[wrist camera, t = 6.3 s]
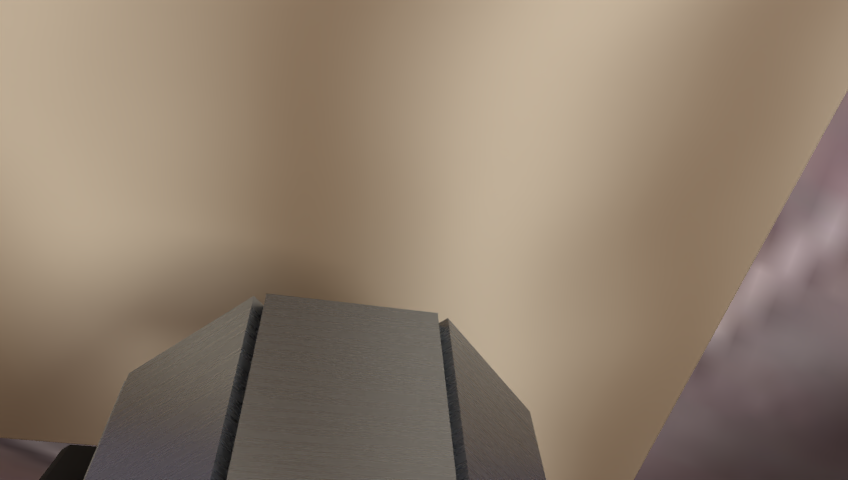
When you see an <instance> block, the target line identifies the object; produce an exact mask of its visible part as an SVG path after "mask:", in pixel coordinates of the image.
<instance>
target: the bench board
mask: <svg viewBox="0 0 848 480" xmlns="http://www.w3.org/2000/svg"><path fill="white" fill-rule="evenodd" d="M847 90H848V0H0V438H10V439H23V440H35V441H48V442H60V443H73V444H85V445H98V443H99V441H100V438H101V436H102V434H103V431H104V429H105V426H106V424H107V422H108V419H109V417H110V414H111V412H112V410H113V407H114V405H115V402H116V400H117V398H118V395H119V393H120V390H121V388H122V386H123V383H124V381H126V379H127V377H128V374H129V373H130V372H132V371H133V370H135V369H137V368H138V367H140V366H141V365H143V364H145V363H146V362H148V361H150V360H151V359H153V358H154V357H156V356H158V355H159V354H161V353H162V352H164V351H166V350H167V349H169V348H170V347H172V346H174V345H175V344H177V343H179V342H180V341H182V340H183V339H185V338H187V337H188V336H190V335H191V334H193V333H195V332H196V331H198V330H199V329H201V328H203V327H204V326H206V325H208V324H209V323H211V322H212V321H214V320H216V319H217V318H219V317H220V316H222V315H224V314H225V313H227V312H229V311H230V310H232V309H233V308H235V307H237V306H238V305H240V304H241V303H243V302H245V301H246V300H248V299H249V298H251V297H253V296H255V297H256V298H257V299H258V300H259V301H260V302H261V303H262V304H263V305H264V302H265V297H266V293H268V294H277V295H285V296H294V297H303V298H312V299H320V300H329V301H338V302H346V303H355V304H364V305H372V306H381V307H390V308H398V309H407V310H416V311H425V312H433V313H438V320H439V323H440V322H442V321H443V320H445V319H447V318H448V319H449V320H450V321H451V322H452V323H453V324H454V325H455V327H456V328H457V329H458V330H459V331H460V332H461V333H462V335H463V336H464V337H465V338H466V339H467V340H468V341H469V343H470V344H471V345H472V346H473V347H474V348H475V349H476V351H477V352H478V353H479V354H480V355H481V356H482V357H483V359H484V360H485V361H486V362H487V363H488V364H489V365H490V367H491V368H492V369H493V370H494V371H495V372H496V373H497V375H498V376H499V377H500V378H501V379H502V380H503V381H504V383H505V384H506V385H507V386H508V387H509V388H510V389H511V391H512V392H513V393H514V394H515V395H516V396H517V397H518V399H519V400H520V401H521V402H522V403H523V404H524V405H525V407H526V408H527V409H528V410H529V411H530V414H531V418H532V422H533V427H534V431H535V435H536V439H537V443H538V447H539V452H540V456H541V460H542V464H543V468H544V472H545V477H546V480H634V478H635V476H636V475H637V473H638V471H639V469H640V467H641V466H642V464H643V462H644V460H645V458H646V456H647V455H648V453H649V451H650V449H651V447H652V446H653V444H654V442H655V440H656V438H657V436H658V435H659V433H660V431H661V429H662V427H663V425H664V424H665V422H666V420H667V418H668V416H669V415H670V413H671V411H672V409H673V407H674V405H675V404H676V402H677V400H678V398H679V396H680V394H681V393H682V391H683V389H684V387H685V385H686V384H687V382H688V380H689V378H690V376H691V374H692V373H693V371H694V369H695V367H696V365H697V363H698V362H699V360H700V358H701V356H702V354H703V353H704V351H705V349H706V347H707V345H708V343H709V342H710V340H711V338H712V336H713V334H714V332H715V331H716V329H717V327H718V325H719V323H720V322H721V320H722V318H723V316H724V314H725V312H726V311H727V309H728V307H729V305H730V303H731V301H732V300H733V298H734V296H735V294H736V292H737V291H738V289H739V287H740V285H741V283H742V281H743V280H744V278H745V276H746V274H747V272H748V270H749V269H750V267H751V265H752V263H753V261H754V260H755V258H756V256H757V254H758V252H759V250H760V249H761V247H762V245H763V243H764V241H765V240H766V238H767V236H768V234H769V232H770V230H771V229H772V227H773V225H774V223H775V221H776V219H777V218H778V216H779V214H780V212H781V210H782V209H783V207H784V205H785V203H786V201H787V199H788V198H789V196H790V194H791V192H792V190H793V188H794V187H795V185H796V183H797V181H798V179H799V178H800V176H801V174H802V172H803V170H804V168H805V167H806V165H807V163H808V161H809V159H810V157H811V156H812V154H813V152H814V150H815V148H816V147H817V145H818V143H819V141H820V139H821V137H822V136H823V134H824V132H825V130H826V128H827V126H828V125H829V123H830V121H831V119H832V117H833V116H834V114H835V112H836V110H837V108H838V106H839V105H840V103H841V101H842V99H843V97H844V95H845V94H846V92H847Z"/></svg>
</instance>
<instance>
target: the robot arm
mask: <svg viewBox="0 0 848 480" xmlns="http://www.w3.org/2000/svg"><path fill="white" fill-rule="evenodd" d="M96 448H97V447H92V446H80V445H69V446H67V447H66V448H64V449H62V450H61V452H60V453H59V454H58V456H57V457H56V459H55V460H54V461H53V463H52V464H51V465H50V467H49V468H48V469H47V470H46V472H45V473H44V474H43V476H42V477H41V478H40V479H39V480H83V479H84V477H85V474H86V472H87V469H88V467H89V465H90V462H91V460H92V457H93V455H94V453H95V450H96Z"/></svg>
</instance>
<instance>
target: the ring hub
mask: <svg viewBox="0 0 848 480" xmlns="http://www.w3.org/2000/svg"><path fill="white" fill-rule="evenodd" d="M83 480H546V477H545V472H544V468H543V464H542V460H541V456H540V452H539V447H538V443H537V439H536V435H535V431H534V427H533V422H532V418H531V414H530V411H529V410H528V409H527V408H526V407H525V405H524V404H523V403H522V402H521V401H520V400H519V399H518V397H517V396H516V395H515V394H514V393H513V392H512V391H511V389H510V388H509V387H508V386H507V385H506V384H505V383H504V381H503V380H502V379H501V378H500V377H499V376H498V375H497V373H496V372H495V371H494V370H493V369H492V368H491V367H490V365H489V364H488V363H487V362H486V361H485V360H484V359H483V357H482V356H481V355H480V354H479V353H478V352H477V351H476V349H475V348H474V347H473V346H472V345H471V344H470V343H469V341H468V340H467V339H466V338H465V337H464V336H463V335H462V333H461V332H460V331H459V330H458V329H457V328H456V327H455V325H454V324H453V323H452V322H451V321H450V320H449V319H448V318H447V319H445V320H443V321H442V322H440V323H439V320H438V313H433V312H425V311H416V310H407V309H398V308H390V307H381V306H372V305H364V304H355V303H346V302H338V301H329V300H320V299H312V298H303V297H294V296H285V295H277V294H268V293H266V297H265V302H264V305H263V304H262V303H261V302H260V301H259V300H258V299H257V298H256V297H255V296H253V297H251V298H249V299H248V300H246V301H245V302H243V303H241V304H240V305H238V306H237V307H235V308H233V309H232V310H230V311H229V312H227V313H225V314H224V315H222V316H220V317H219V318H217V319H216V320H214V321H212V322H211V323H209V324H208V325H206V326H204V327H203V328H201V329H199V330H198V331H196V332H195V333H193V334H191V335H190V336H188V337H187V338H185V339H183V340H182V341H180V342H179V343H177V344H175V345H174V346H172V347H170V348H169V349H167V350H166V351H164V352H162V353H161V354H159V355H158V356H156V357H154V358H153V359H151V360H150V361H148V362H146V363H145V364H143V365H141V366H140V367H138V368H137V369H135V370H133V371H132V372H130V373H129V374H128V377H127V379H126V381H124V383H123V386H122V388H121V390H120V393H119V395H118V398H117V400H116V402H115V405H114V407H113V410H112V412H111V414H110V417H109V419H108V422H107V424H106V426H105V429H104V431H103V434H102V436H101V438H100V441H99V443H98V446H97V448H96V450H95V453H94V455H93V457H92V460H91V462H90V465H89V467H88V469H87V472H86V474H85V477H84V479H83Z"/></svg>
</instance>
